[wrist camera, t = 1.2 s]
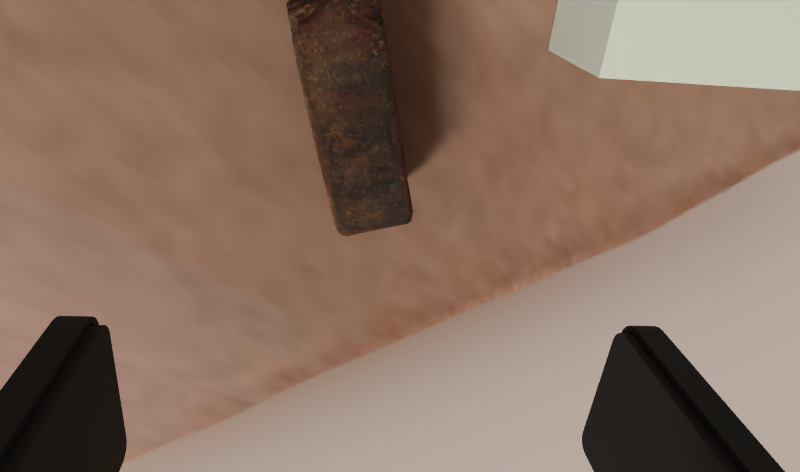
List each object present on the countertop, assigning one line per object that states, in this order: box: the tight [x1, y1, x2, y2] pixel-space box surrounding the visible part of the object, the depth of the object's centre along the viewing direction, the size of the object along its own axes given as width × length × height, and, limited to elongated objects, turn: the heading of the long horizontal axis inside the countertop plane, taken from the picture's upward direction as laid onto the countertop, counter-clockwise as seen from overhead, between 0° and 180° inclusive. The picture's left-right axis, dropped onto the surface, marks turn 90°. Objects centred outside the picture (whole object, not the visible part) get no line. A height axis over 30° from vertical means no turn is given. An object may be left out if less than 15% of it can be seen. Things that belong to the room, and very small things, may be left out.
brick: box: [287, 0, 413, 236], centre depth 27 cm, size 11×4×5 cm, turn 8°
